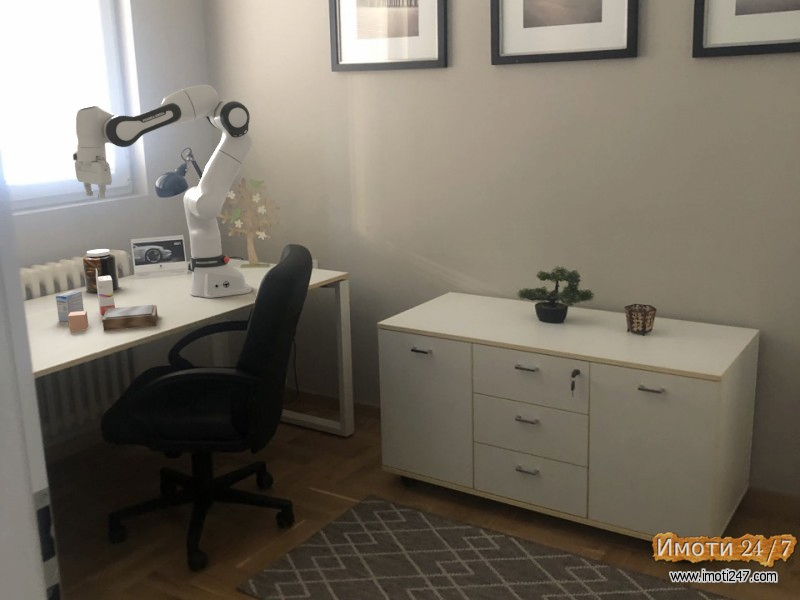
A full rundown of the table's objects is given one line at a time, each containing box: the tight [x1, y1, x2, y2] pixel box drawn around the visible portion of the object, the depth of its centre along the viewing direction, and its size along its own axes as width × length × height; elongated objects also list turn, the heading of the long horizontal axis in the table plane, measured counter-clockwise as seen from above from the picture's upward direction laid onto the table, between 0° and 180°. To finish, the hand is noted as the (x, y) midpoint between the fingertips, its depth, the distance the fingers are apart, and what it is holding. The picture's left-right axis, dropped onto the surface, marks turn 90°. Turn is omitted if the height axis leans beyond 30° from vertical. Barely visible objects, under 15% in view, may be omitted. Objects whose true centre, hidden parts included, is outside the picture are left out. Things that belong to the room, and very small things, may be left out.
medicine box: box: [55, 290, 85, 323], centre depth 283 cm, size 8×4×9 cm, turn 163°
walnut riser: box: [101, 304, 158, 332], centre depth 275 cm, size 16×14×4 cm
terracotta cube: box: [68, 310, 89, 332], centre depth 271 cm, size 5×5×5 cm
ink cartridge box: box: [96, 269, 116, 315], centre depth 290 cm, size 9×5×15 cm, turn 23°
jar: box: [82, 248, 120, 294], centre depth 324 cm, size 12×12×15 cm
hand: (95, 197), depth 286 cm, fingers open, 8 cm apart
